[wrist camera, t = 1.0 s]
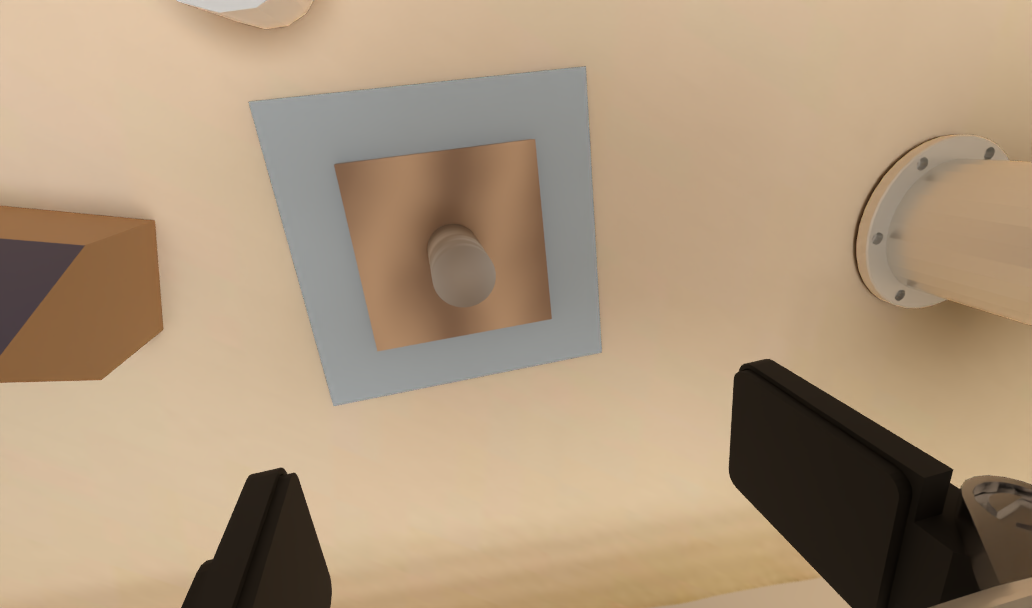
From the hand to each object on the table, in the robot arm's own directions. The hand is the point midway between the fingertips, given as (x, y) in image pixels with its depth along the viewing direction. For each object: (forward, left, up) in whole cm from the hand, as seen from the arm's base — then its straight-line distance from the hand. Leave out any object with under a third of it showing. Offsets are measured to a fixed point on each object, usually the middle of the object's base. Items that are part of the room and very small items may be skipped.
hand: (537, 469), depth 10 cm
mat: (0, 0, -21) cm, 21 cm away
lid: (0, 0, -21) cm, 21 cm away
